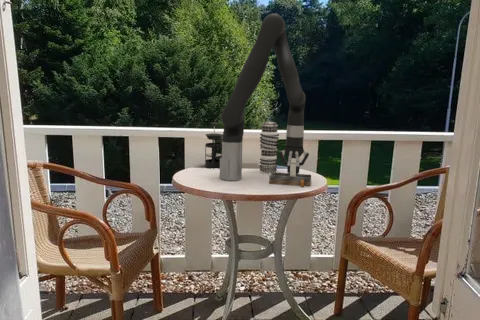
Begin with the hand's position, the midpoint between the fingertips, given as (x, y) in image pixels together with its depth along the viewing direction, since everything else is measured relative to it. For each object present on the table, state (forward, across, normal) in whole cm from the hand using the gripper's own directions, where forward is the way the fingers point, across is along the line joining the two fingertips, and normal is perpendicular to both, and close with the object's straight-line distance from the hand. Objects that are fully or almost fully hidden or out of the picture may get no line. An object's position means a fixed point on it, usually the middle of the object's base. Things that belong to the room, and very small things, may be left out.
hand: (293, 173), depth 186 cm
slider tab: (+2, 0, 0) cm, 2 cm away
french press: (+4, +42, -23) cm, 48 cm away
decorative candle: (+4, +13, -18) cm, 23 cm away
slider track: (+4, +1, 0) cm, 4 cm away
